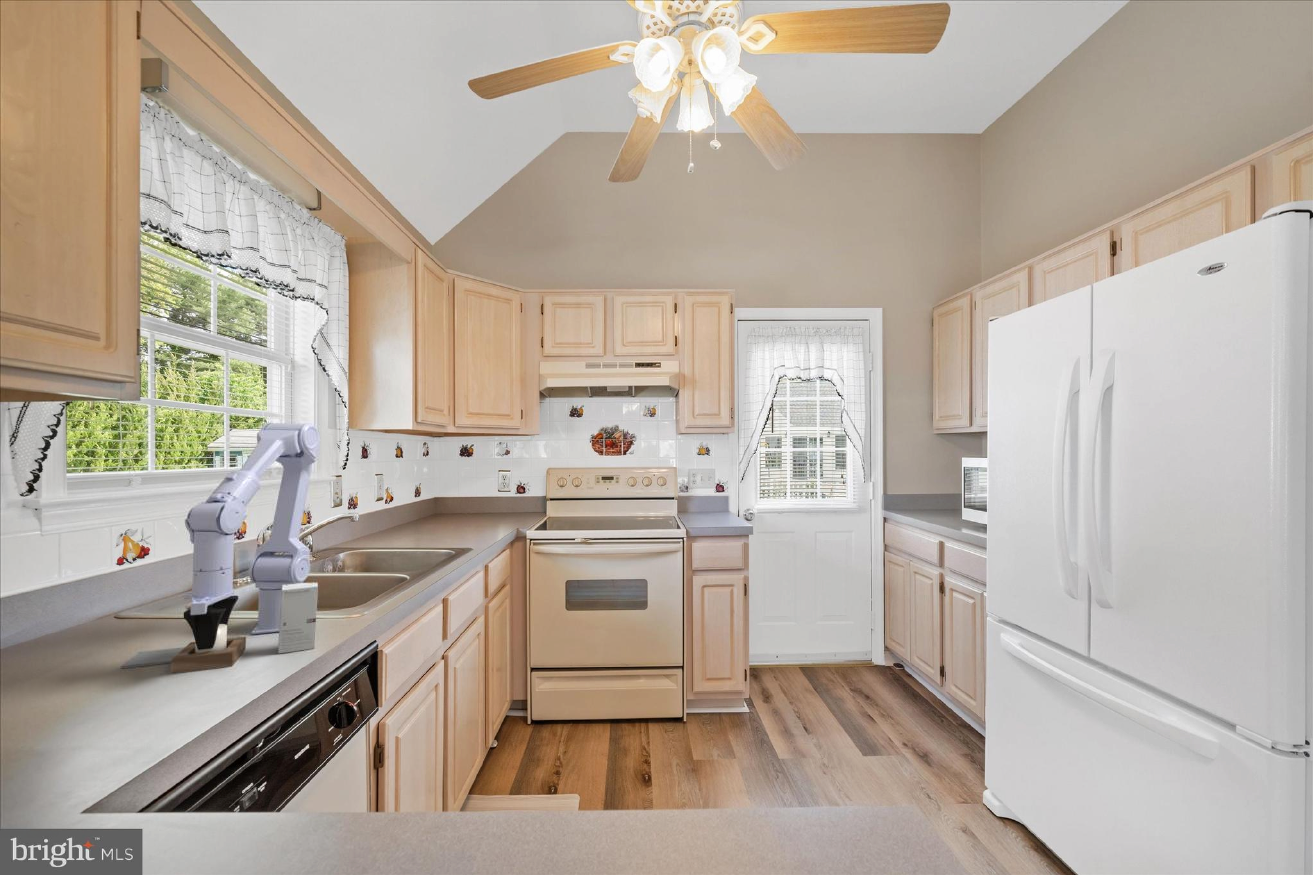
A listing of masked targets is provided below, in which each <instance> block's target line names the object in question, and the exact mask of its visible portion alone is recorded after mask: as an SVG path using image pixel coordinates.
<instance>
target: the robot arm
mask: <svg viewBox="0 0 1313 875" xmlns="http://www.w3.org/2000/svg"><path fill="white" fill-rule="evenodd" d="M256 441H257V442H256V445H255V447H254V449H253V451H252V452H251V453H250V455H249V456H248V458H247V459H246V461H245V462H244V464H242V467H241V469H240V470H235V471H234V470H233V471H231V472H229V473H227V474H226V476H225V477H224V478H223V480H222V481H221V482H220V484H219V485H218V486H217V487H216V489H214V491H213V492H212V493H211V494H210V495H209V497H208V498H207V499H206V500H205V501H203V502H202V501H201V502H199V503H197V504H196V505H194V506H193V507H191V509H190V510H189V512H188V513H187V516H186V518H185V519H184V525H185V528H186V530H187V532H188V533H189V537H190V538H189V541H190V543H191V544H193V556H192V559H193V560H192V588H191V590H192V591H191V592H188V593H185V594H183V600H190V601H191V603H190V609H186V610H185V611H183V618H184V620H185V621H186V622H187V624H188V625H189V627H190V629H191V632H192V634H193V638H194V642H196V646H197V649H198V650H204V649H212V648H213V647H214V644H215V641H216V636H217V631H218V626H219V624H225V625H227V626H228V624H229V621H230V616H231V614H232V612H233V609H234V607H235V605H236V603H237V602H238V601H239V595H235V590H234V558H235V557H234V556H235V552H234V551H235V533H236V532H237V531H238V530H239V529H240V528H241V527H242V525H243V523H244V519H245V518H244V516H245V513H246V512H247V508H246V507H247V505H249V503H250V501H251V500H252V499H253V498H254V497H255V495H256V494H257V492H259V491H260V487H261V483H260V481H259V479H260V478H261V477H262V476H263V475H264V474H265V472H267V470H268V469H269V468H270V467H271V466H273V464H274V463H275V462H276V463H279V464H281V466H282V467H283V471H282V475H281V482H280V486H279V490H278V496H277V501H276V506H275V511H274V516H273V522H272V527H271V532H270V536H269V537H270V538H269V539H268V540H267V541H265V542H263V543H262V544H261V545H259V546H258V547H257V548H256V550H255V554H254V556H253V559H252V561H251V562H250V564H249V566H248V577H249V579H250V581H251V582H252V583H254V585H255V589H256V588H258V608H257V609H258V611H257V624H256V626H255V627H254V629H253V630H252V631H251V635H257V634H258V635H259V634H267V633H279V623H280V608H281V591H282V585H288V584H297V583H304V582H305V581H306V579H307V578H308V576H309V574H310V571H311V561H310V554H311V553H310V552H311V550H310V548H309V547H308V546H306V545H305V544H304V543H303V542H302V541H301V540H300V534H301V530H302V529H301V528H302V524H303V523H302V522H303V519H304V517H303V516H304V513H305V508H306V502H307V497H308V496H307V495H308V490H309V485H310V479H311V474H312V468H313V464H314V463H316V462H317V460H318V459H317V458H318V453H319V448H320V444H321V436H320V434H319V431H318V429H317V427H316V425H314V424H313V423H310V422H307V423H306V422H305V423H289V422H288V423H285V422H284V423H279V422H277V423H276V422H271V421H270V422H266V423H264V424H263V425H262V426H261V427H260V429H259V431H258V432H257V433H256ZM279 553H280V554H279ZM281 553H283V554H281ZM285 553H286V554H285ZM288 553H289V554H288Z"/></svg>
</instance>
